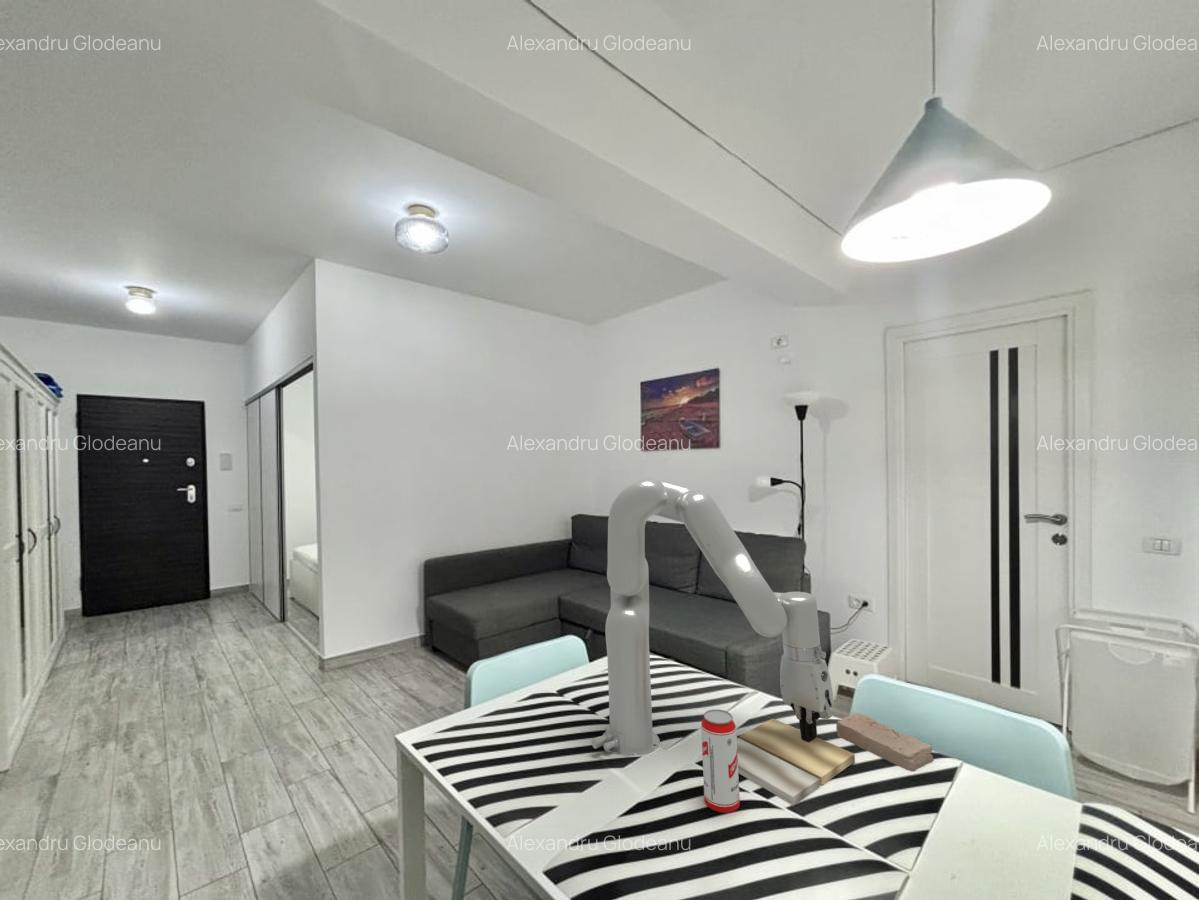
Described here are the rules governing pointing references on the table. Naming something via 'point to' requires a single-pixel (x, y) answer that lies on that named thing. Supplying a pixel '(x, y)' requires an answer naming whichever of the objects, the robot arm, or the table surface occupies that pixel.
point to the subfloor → (774, 773)
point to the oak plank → (800, 750)
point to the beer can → (720, 761)
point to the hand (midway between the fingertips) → (809, 738)
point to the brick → (884, 741)
